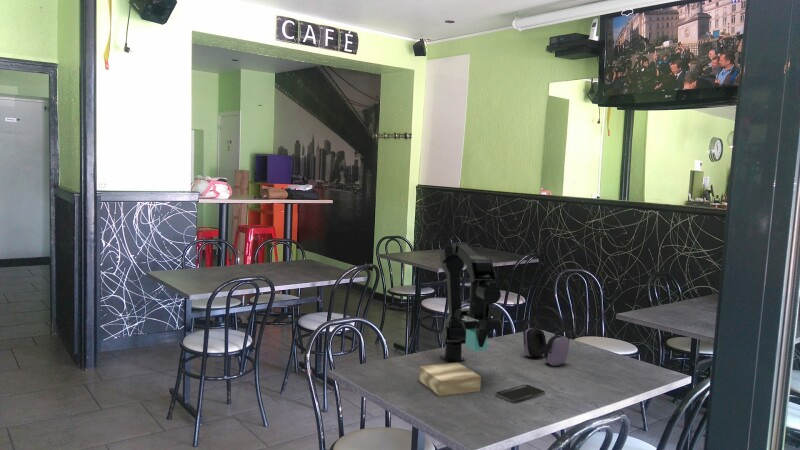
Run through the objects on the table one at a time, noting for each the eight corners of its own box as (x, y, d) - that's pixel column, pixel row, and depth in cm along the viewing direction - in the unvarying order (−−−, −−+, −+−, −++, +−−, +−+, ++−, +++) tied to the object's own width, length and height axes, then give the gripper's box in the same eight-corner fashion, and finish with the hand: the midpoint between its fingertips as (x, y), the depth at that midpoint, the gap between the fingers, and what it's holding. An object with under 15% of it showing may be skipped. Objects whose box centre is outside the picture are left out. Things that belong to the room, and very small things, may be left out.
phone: (494, 392, 175) (527, 384, 184) (493, 396, 175) (527, 387, 184) (513, 401, 168) (547, 391, 177) (513, 405, 168) (546, 395, 178)
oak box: (419, 381, 185) (419, 366, 184) (457, 377, 190) (458, 362, 190) (439, 397, 172) (440, 381, 172) (480, 392, 178) (480, 376, 177)
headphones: (536, 352, 221) (539, 301, 220) (571, 365, 207) (575, 310, 206) (518, 356, 216) (522, 303, 214) (553, 369, 202) (557, 313, 200)
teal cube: (465, 347, 189) (466, 329, 189) (478, 345, 192) (478, 328, 191) (474, 351, 185) (475, 332, 184) (486, 349, 187) (487, 331, 187)
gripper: (516, 301, 182) (514, 350, 184) (482, 290, 199) (479, 335, 200) (488, 303, 177) (485, 353, 178) (454, 292, 194) (452, 338, 195)
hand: (476, 344), depth 188 cm, fingers closed on teal cube, 5 cm apart
